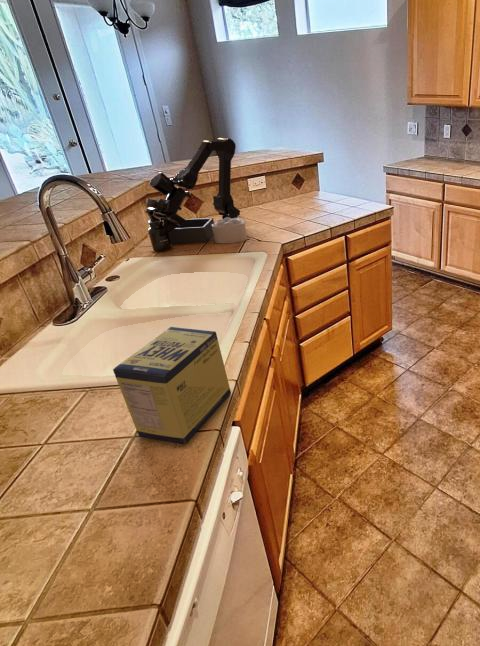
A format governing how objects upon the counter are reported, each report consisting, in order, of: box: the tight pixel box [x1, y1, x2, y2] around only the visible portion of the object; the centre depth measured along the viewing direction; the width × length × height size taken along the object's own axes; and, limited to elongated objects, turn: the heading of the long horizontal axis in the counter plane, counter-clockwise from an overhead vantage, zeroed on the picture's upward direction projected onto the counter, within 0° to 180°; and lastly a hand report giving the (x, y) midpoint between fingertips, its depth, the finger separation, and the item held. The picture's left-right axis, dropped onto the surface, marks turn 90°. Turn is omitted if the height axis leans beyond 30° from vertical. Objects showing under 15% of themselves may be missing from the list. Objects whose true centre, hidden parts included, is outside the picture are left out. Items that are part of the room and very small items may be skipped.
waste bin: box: [168, 217, 215, 245], centre depth 186 cm, size 16×15×7 cm
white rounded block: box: [212, 217, 248, 244], centre depth 183 cm, size 10×13×9 cm
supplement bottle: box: [147, 219, 172, 253], centre depth 172 cm, size 7×7×12 cm
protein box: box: [112, 326, 232, 445], centre depth 82 cm, size 10×16×16 cm
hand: (155, 235), depth 171 cm, fingers closed on supplement bottle, 7 cm apart
